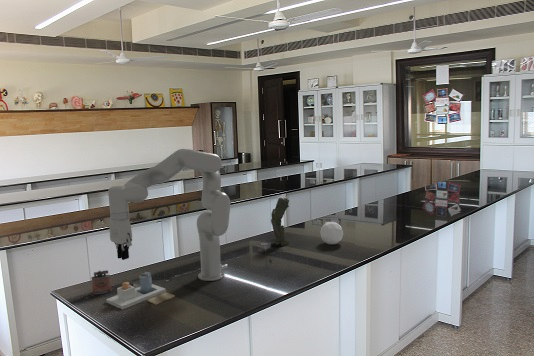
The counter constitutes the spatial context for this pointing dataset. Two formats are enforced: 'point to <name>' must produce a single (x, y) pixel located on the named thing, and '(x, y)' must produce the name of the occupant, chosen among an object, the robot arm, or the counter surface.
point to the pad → (160, 298)
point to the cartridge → (145, 282)
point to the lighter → (101, 282)
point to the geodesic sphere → (331, 232)
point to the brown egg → (125, 285)
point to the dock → (133, 296)
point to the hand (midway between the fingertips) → (123, 258)
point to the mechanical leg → (279, 222)
